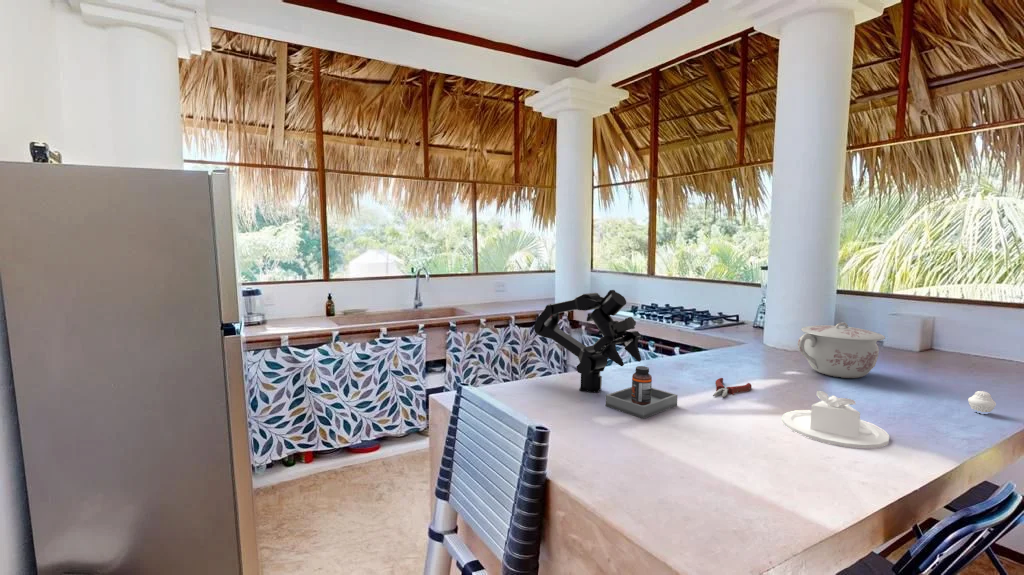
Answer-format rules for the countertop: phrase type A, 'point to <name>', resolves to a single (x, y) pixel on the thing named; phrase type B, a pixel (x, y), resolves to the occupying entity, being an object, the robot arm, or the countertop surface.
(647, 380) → the supplement bottle
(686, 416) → the countertop surface
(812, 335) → the chamber pot
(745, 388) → the pliers
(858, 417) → the dish
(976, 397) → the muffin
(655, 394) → the tray
